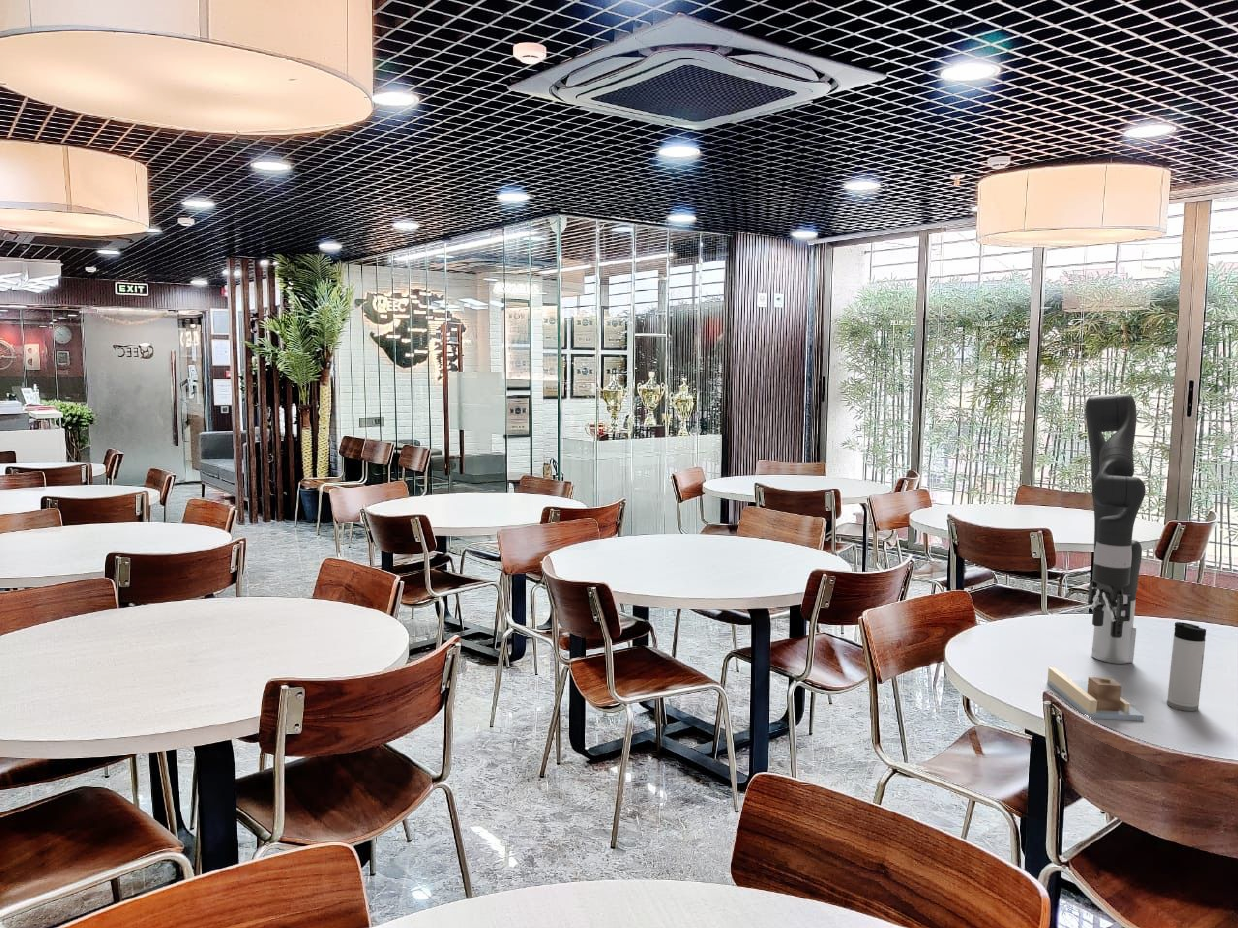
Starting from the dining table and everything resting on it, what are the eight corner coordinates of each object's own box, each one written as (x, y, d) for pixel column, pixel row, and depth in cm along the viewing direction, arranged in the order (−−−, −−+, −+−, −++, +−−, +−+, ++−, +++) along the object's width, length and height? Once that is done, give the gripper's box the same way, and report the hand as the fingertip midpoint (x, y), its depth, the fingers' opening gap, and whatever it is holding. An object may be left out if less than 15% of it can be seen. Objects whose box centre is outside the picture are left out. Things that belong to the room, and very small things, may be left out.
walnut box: (1108, 702, 209) (1111, 675, 208) (1119, 711, 204) (1121, 683, 203) (1086, 701, 210) (1089, 674, 209) (1096, 710, 205) (1098, 682, 204)
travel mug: (1159, 701, 214) (1167, 619, 212) (1185, 701, 215) (1194, 619, 213) (1177, 711, 208) (1186, 627, 206) (1204, 711, 209) (1213, 627, 206)
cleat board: (1096, 685, 224) (1097, 669, 224) (1143, 720, 202) (1145, 702, 202) (1047, 683, 225) (1048, 667, 224) (1088, 718, 203) (1090, 700, 202)
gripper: (1145, 570, 198) (1139, 641, 201) (1113, 555, 213) (1107, 622, 215) (1111, 570, 199) (1105, 641, 201) (1080, 555, 213) (1075, 621, 215)
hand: (1106, 631), depth 208 cm, fingers open, 8 cm apart
